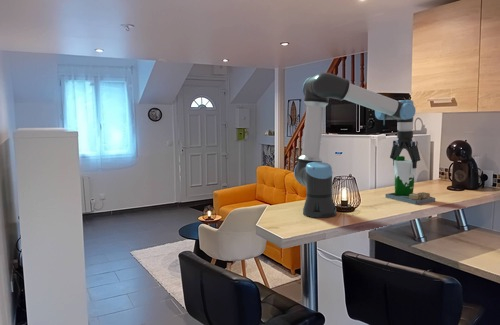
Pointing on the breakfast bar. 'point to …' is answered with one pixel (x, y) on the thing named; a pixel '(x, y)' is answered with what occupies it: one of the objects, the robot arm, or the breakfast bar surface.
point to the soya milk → (403, 177)
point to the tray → (407, 200)
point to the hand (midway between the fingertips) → (404, 173)
